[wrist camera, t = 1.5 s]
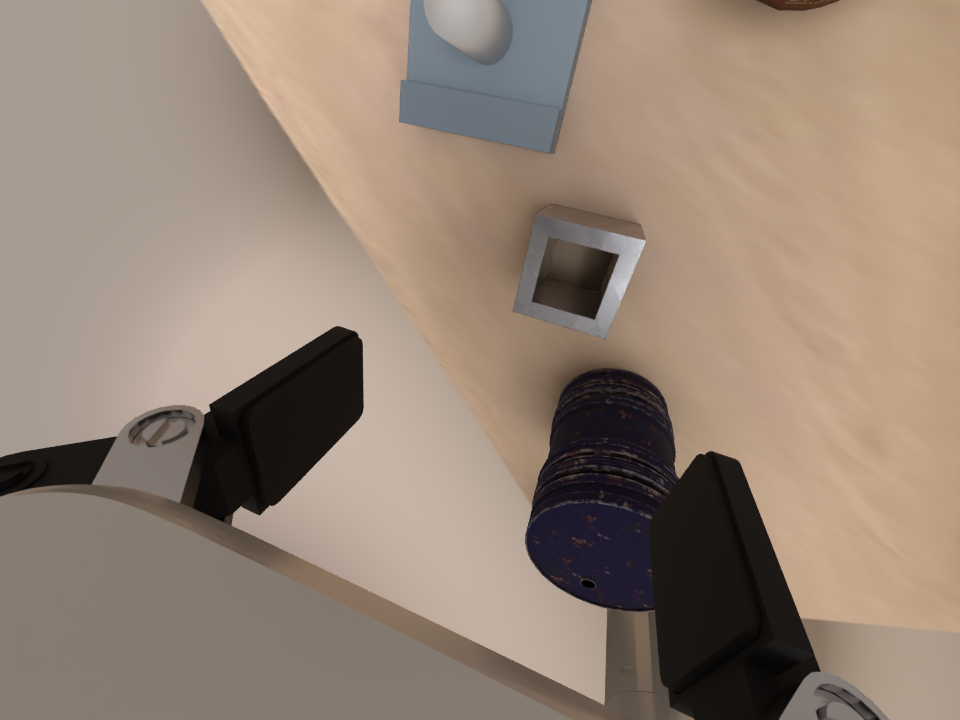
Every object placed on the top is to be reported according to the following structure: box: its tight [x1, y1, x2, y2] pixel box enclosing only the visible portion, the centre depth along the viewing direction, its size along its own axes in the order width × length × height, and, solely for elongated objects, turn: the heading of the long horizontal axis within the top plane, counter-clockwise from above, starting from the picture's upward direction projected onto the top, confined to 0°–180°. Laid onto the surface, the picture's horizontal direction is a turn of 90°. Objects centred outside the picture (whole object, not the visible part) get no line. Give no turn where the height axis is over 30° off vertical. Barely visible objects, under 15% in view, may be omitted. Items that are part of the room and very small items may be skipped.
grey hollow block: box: [513, 204, 646, 339], centre depth 26 cm, size 7×7×6 cm
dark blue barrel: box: [525, 369, 679, 612], centre depth 28 cm, size 10×10×15 cm
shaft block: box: [399, 0, 592, 153], centre depth 20 cm, size 11×11×8 cm
